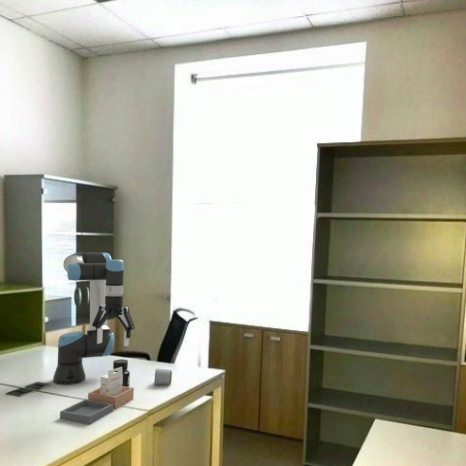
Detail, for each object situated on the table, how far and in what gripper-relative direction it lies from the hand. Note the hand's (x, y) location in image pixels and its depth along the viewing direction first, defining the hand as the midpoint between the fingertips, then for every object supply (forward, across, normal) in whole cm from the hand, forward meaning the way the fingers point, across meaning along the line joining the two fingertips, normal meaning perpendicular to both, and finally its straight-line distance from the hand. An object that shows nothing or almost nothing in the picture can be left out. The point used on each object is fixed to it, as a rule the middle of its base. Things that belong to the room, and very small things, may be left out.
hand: (112, 344), depth 194 cm
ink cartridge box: (+25, 0, 0) cm, 25 cm away
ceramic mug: (+25, +8, +32) cm, 41 cm away
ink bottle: (+25, -9, +20) cm, 33 cm away
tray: (+25, 0, -16) cm, 29 cm away
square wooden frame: (+25, 0, 0) cm, 25 cm away
